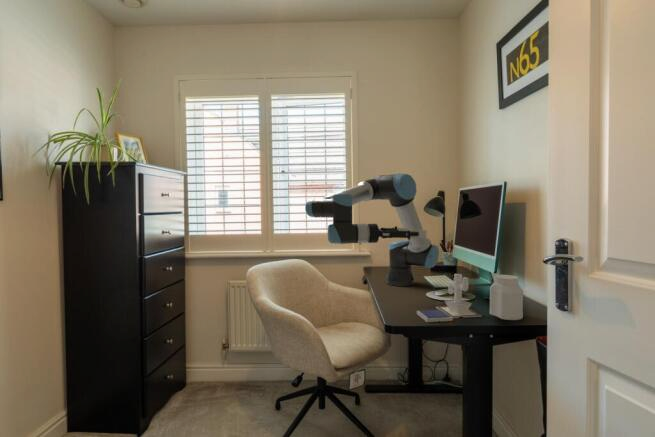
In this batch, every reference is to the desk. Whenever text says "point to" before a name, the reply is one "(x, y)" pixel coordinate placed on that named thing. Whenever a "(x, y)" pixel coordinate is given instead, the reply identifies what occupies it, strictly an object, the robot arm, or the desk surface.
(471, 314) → the card sheet
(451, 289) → the figurine
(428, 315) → the ink pad
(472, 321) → the desk surface
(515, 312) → the jar
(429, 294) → the desk surface
